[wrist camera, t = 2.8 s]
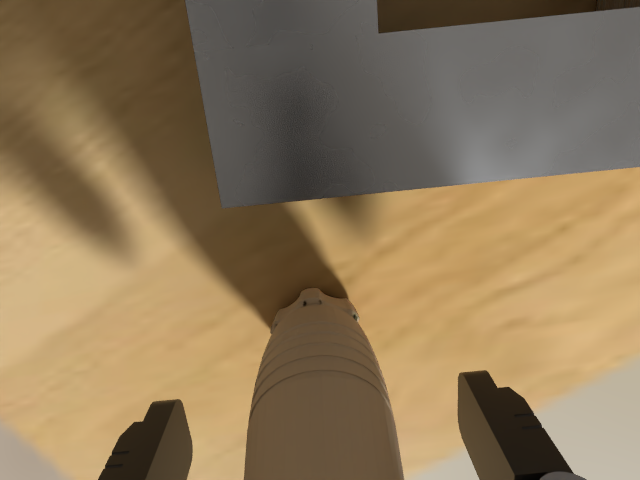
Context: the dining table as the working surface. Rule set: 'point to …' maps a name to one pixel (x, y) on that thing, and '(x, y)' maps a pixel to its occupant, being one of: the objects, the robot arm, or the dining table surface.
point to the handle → (320, 399)
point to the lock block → (409, 98)
